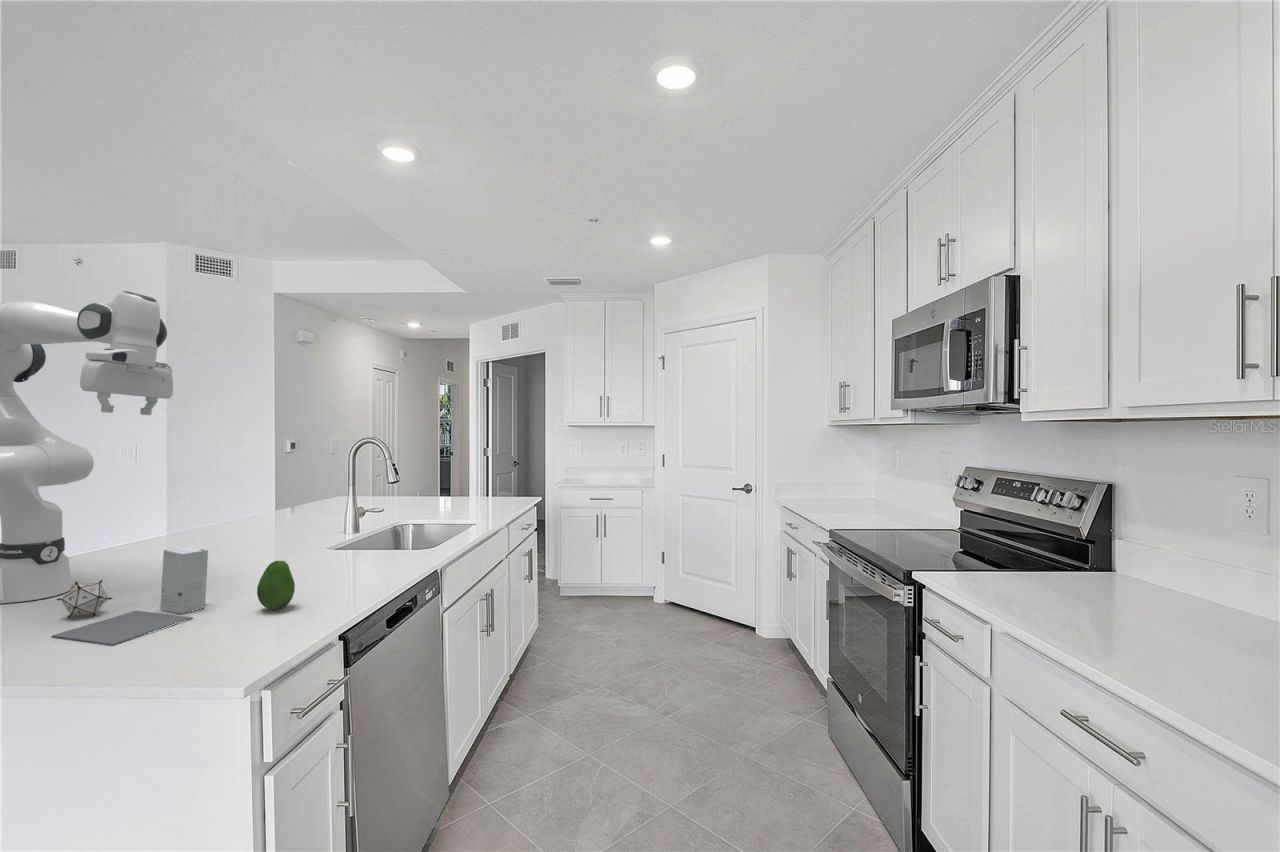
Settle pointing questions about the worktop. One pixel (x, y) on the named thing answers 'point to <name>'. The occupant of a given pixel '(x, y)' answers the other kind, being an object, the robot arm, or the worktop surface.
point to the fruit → (276, 586)
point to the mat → (121, 628)
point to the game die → (84, 599)
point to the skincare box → (184, 579)
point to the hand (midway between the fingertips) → (126, 413)
